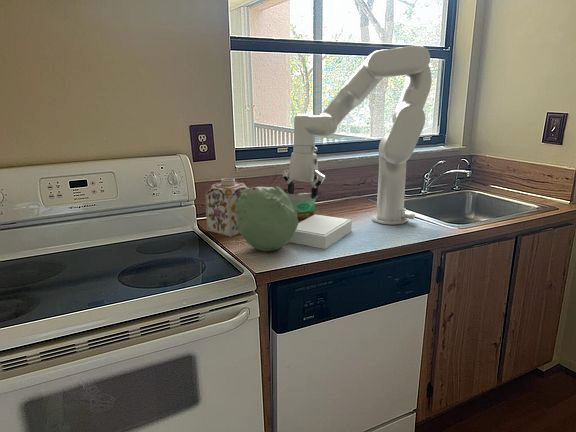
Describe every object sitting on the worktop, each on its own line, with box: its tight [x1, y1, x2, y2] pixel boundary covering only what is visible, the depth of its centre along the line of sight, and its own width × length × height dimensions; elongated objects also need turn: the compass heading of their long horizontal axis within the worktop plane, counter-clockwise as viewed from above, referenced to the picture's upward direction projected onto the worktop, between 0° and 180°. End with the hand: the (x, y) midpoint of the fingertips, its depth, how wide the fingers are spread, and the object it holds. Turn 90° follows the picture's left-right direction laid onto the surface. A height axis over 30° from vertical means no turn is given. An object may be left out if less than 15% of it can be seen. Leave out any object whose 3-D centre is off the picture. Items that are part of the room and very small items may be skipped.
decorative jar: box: [204, 177, 249, 238], centre depth 154 cm, size 12×12×18 cm
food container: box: [286, 192, 318, 222], centre depth 167 cm, size 12×6×10 cm, turn 114°
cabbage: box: [234, 185, 299, 252], centre depth 135 cm, size 16×19×20 cm
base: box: [287, 214, 353, 250], centre depth 149 cm, size 14×20×4 cm
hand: (302, 196), depth 166 cm, fingers open, 9 cm apart
